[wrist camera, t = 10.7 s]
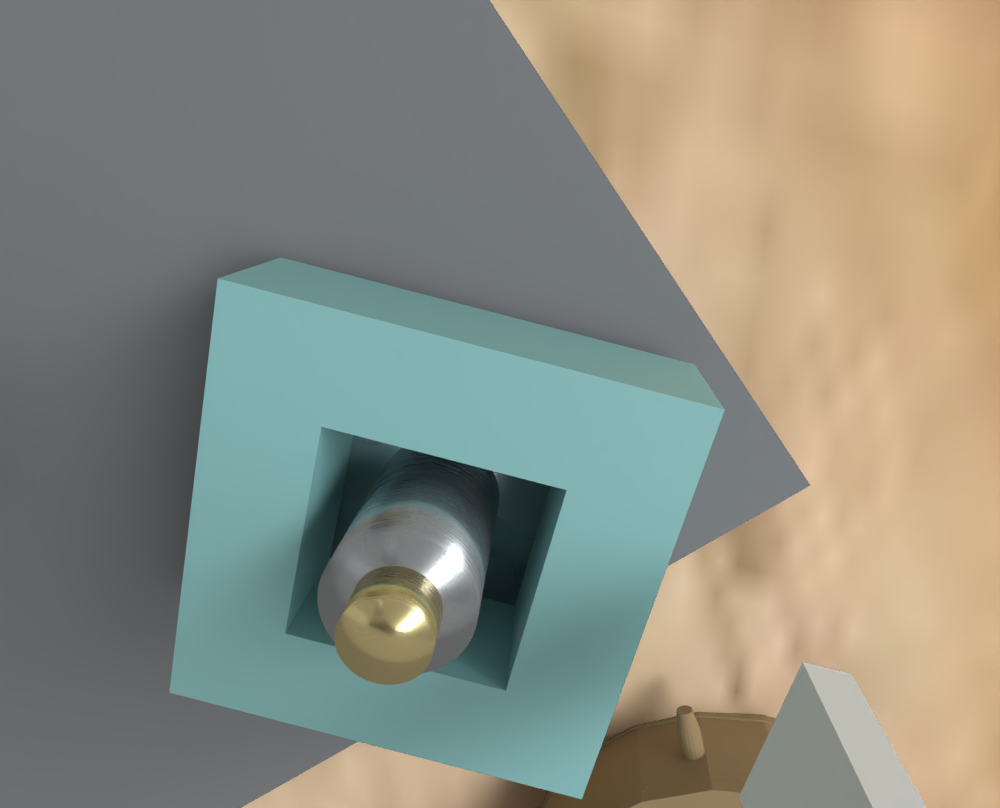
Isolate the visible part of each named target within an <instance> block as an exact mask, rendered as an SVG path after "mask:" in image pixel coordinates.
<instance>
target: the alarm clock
mask: <svg viewBox="0 0 1000 808" xmlns="http://www.w3.org/2000/svg"><path fill="white" fill-rule="evenodd" d="M775 720H776V719H775V718H772V717H769V716H765V715H756V714H732V713H708V712H696V713H694V712H693V710H692V708H691V707H690V706H681V707H679V708H678V709H677V717H673V718H668V719H664V720H659V721H654V722H650V723H645V724H641V725H636V726H634V727H632V728H630V729H629V730H627V731H625V732H623V733H621V734H619V735H617V736H615V737H613V738H612V739H610V740H608V741H606V742H604V743H602V746H601V748H600V751H599V754H598V756H597V759H596V762H595V765H594V767H593V770H592V773H591V776H590V778H589V781H588V784H587V786H586V789H585V792H584V795H583V797H582V799H578V798H575V797H571V796H567V795H563V794H559V793H555V792H551V791H548V793H547V796H546V798H545V801H544V803H543V805H542V808H743V806H742V803H741V799H740V796H739V795H740V793H741V791H742V789H743V787H744V785H745V783H746V781H747V778H748V776H749V774H750V772H751V770H752V768H753V766H754V764H755V762H756V760H757V757H758V755H759V753H760V751H761V749H762V747H763V745H764V743H765V741H766V738H767V736H768V734H769V732H770V730H771V728H772V726H773V724H774V722H775Z"/></svg>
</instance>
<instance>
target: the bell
mask: <svg viewBox="0 0 1000 808" xmlns="http://www.w3.org/2000/svg"><path fill="white" fill-rule="evenodd" d="M549 489H550V486H549V485H545V484H541V483H537V482H533V481H529V480H526V479H522V478H518V477H514V476H510V475H506V474H502V473H498V472H495V471H491V470H487V469H483V468H479V467H475V466H471V465H468V464H464V463H460V462H456V461H452V460H448V459H444V458H441V457H437V456H433V455H429V454H425V453H421V452H417V451H413V450H410V449H406V448H402V447H398V446H394V445H390V444H386V443H383V442H379V441H375V440H371V439H367V438H363V437H359V436H356V435H353V439H352V445H351V450H350V455H349V460H348V466H347V471H346V476H345V481H344V487H343V492H342V497H341V502H340V507H339V513H338V518H337V523H336V528H335V534H334V539H333V544H332V549H331V554H330V558H331V559H330V561H329V562H328V564H327V566H326V568H325V570H324V572H323V574H322V576H321V579H320V582H319V586H318V595H317V602H318V609H319V614H320V617H321V620H322V623H323V625H324V627H325V629H326V631H327V632H328V634H329V636H330V637H331V639H332V640H333V641H334V642H335V647H336V650H337V653H338V655H339V657H340V658H341V660H342V662H343V663H344V664H345V665H346V666H347V667H348V668H349V669H350V670H351V671H352V672H353V673H354V674H356V675H357V676H359V677H361V678H363V679H365V680H367V681H370V682H373V683H377V684H383V685H396V684H401V683H405V682H408V681H410V680H413V679H415V678H416V677H418V676H419V675H420V674H422V673H426V672H430V671H433V670H436V669H439V668H441V667H443V666H445V665H447V664H448V663H450V662H451V661H453V660H454V659H455V658H456V657H457V656H459V655H460V654H461V653H462V652H463V650H464V649H465V648H466V647H467V645H468V644H469V642H470V640H471V639H472V637H473V634H474V632H475V629H476V625H477V621H478V615H479V610H480V605H481V599H482V597H483V598H487V599H491V600H495V601H498V602H502V603H506V604H510V605H514V606H515V604H516V601H517V597H518V594H519V591H520V587H521V584H522V580H523V577H524V574H525V570H526V567H527V563H528V560H529V557H530V553H531V550H532V546H533V543H534V540H535V536H536V533H537V529H538V526H539V523H540V519H541V516H542V512H543V509H544V506H545V502H546V499H547V495H548V492H549Z"/></svg>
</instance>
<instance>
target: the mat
mask: <svg viewBox="0 0 1000 808" xmlns="http://www.w3.org/2000/svg"><path fill="white" fill-rule="evenodd" d="M278 258H285V259H289V260H293V261H297V262H301V263H305V264H308V265H312V266H316V267H320V268H324V269H328V270H332V271H336V272H339V273H343V274H347V275H351V276H355V277H359V278H363V279H366V280H370V281H374V282H378V283H382V284H386V285H390V286H394V287H397V288H401V289H405V290H409V291H413V292H417V293H421V294H424V295H428V296H432V297H436V298H440V299H444V300H448V301H451V302H455V303H459V304H463V305H467V306H471V307H475V308H479V309H482V310H486V311H490V312H494V313H498V314H502V315H506V316H509V317H513V318H517V319H521V320H525V321H529V322H533V323H536V324H540V325H544V326H548V327H552V328H556V329H560V330H564V331H567V332H571V333H575V334H579V335H583V336H587V337H591V338H594V339H598V340H602V341H606V342H610V343H614V344H618V345H622V346H625V347H629V348H633V349H637V350H641V351H645V352H649V353H652V354H656V355H660V356H664V357H668V358H672V359H676V360H679V361H683V362H687V363H691V364H695V366H696V367H697V369H698V370H699V372H700V373H701V375H702V376H703V378H704V379H705V381H706V382H707V384H708V385H709V387H710V388H711V390H712V391H713V393H714V394H715V396H716V397H717V399H718V400H719V402H720V403H721V405H722V406H723V408H724V409H725V410H724V413H723V416H722V419H721V421H720V424H719V427H718V430H717V432H716V435H715V438H714V440H713V443H712V446H711V449H710V451H709V454H708V457H707V460H706V462H705V465H704V468H703V470H702V473H701V476H700V479H699V481H698V484H697V487H696V489H695V492H694V495H693V498H692V500H691V503H690V506H689V509H688V511H687V514H686V517H685V519H684V522H683V525H682V528H681V530H680V533H679V536H678V539H677V541H676V544H675V547H674V549H673V552H672V555H671V558H670V560H669V563H668V566H669V565H670V564H672V563H674V562H676V561H677V560H679V559H681V558H683V557H685V556H686V555H688V554H690V553H692V552H693V551H695V550H697V549H699V548H700V547H702V546H704V545H706V544H707V543H709V542H711V541H713V540H715V539H716V538H718V537H720V536H722V535H723V534H725V533H727V532H729V531H730V530H732V529H734V528H736V527H738V526H739V525H741V524H743V523H745V522H746V521H748V520H750V519H752V518H753V517H755V516H757V515H759V514H761V513H762V512H764V511H766V510H768V509H769V508H771V507H773V506H775V505H776V504H778V503H780V502H782V501H783V500H785V499H787V498H789V497H791V496H792V495H794V494H796V493H798V492H799V491H801V490H803V489H805V488H806V487H808V486H810V484H809V483H808V481H807V480H806V478H805V477H804V475H803V474H802V472H801V471H800V469H799V468H798V466H797V465H796V463H795V462H794V460H793V458H792V457H791V455H790V454H789V452H788V451H787V449H786V448H785V446H784V445H783V443H782V442H781V440H780V439H779V437H778V436H777V434H776V433H775V431H774V430H773V428H772V427H771V425H770V424H769V422H768V421H767V419H766V418H765V416H764V415H763V413H762V412H761V410H760V409H759V407H758V406H757V404H756V403H755V401H754V400H753V398H752V396H751V395H750V393H749V392H748V390H747V389H746V387H745V386H744V384H743V383H742V381H741V380H740V378H739V377H738V375H737V374H736V372H735V371H734V369H733V368H732V366H731V365H730V363H729V362H728V360H727V359H726V357H725V356H724V354H723V353H722V351H721V350H720V348H719V347H718V345H717V344H716V342H715V341H714V339H713V338H712V336H711V334H710V333H709V331H708V330H707V328H706V327H705V325H704V324H703V322H702V321H701V319H700V318H699V316H698V315H697V313H696V312H695V310H694V309H693V307H692V306H691V304H690V303H689V301H688V300H687V298H686V297H685V295H684V294H683V292H682V291H681V289H680V288H679V286H678V285H677V283H676V282H675V280H674V279H673V277H672V276H671V274H670V273H669V271H668V269H667V268H666V266H665V265H664V263H663V262H662V260H661V259H660V257H659V256H658V254H657V253H656V251H655V250H654V248H653V247H652V245H651V244H650V242H649V241H648V239H647V238H646V236H645V235H644V233H643V232H642V230H641V229H640V227H639V226H638V224H637V223H636V221H635V220H634V218H633V217H632V215H631V214H630V212H629V211H628V209H627V207H626V206H625V204H624V203H623V201H622V200H621V198H620V197H619V195H618V194H617V192H616V191H615V189H614V188H613V186H612V185H611V183H610V182H609V180H608V179H607V177H606V176H605V174H604V173H603V171H602V170H601V168H600V167H599V165H598V164H597V162H596V161H595V159H594V158H593V156H592V155H591V153H590V152H589V150H588V149H587V147H586V145H585V144H584V142H583V141H582V139H581V138H580V136H579V135H578V133H577V132H576V130H575V129H574V127H573V126H572V124H571V123H570V121H569V120H568V118H567V117H566V115H565V114H564V112H563V111H562V109H561V108H560V106H559V105H558V103H557V102H556V100H555V99H554V97H553V96H552V94H551V93H550V91H549V90H548V88H547V87H546V85H545V83H544V82H543V80H542V79H541V77H540V76H539V74H538V73H537V71H536V70H535V68H534V67H533V65H532V64H531V62H530V61H529V59H528V58H527V56H526V55H525V53H524V52H523V50H522V49H521V47H520V46H519V44H518V43H517V41H516V40H515V38H514V37H513V35H512V34H511V32H510V31H509V29H508V28H507V26H506V25H505V23H504V22H503V20H502V18H501V17H500V15H499V14H498V12H497V11H496V9H495V8H494V6H493V5H492V3H491V2H490V0H0V808H241V807H243V806H245V805H246V804H248V803H250V802H252V801H253V800H255V799H257V798H259V797H260V796H262V795H264V794H266V793H268V792H269V791H271V790H273V789H275V788H276V787H278V786H280V785H282V784H283V783H285V782H287V781H289V780H290V779H292V778H294V777H296V776H298V775H299V774H301V773H303V772H305V771H306V770H308V769H310V768H312V767H313V766H315V765H317V764H319V763H321V762H322V761H324V760H326V759H328V758H329V757H331V756H333V755H335V754H336V753H338V752H340V751H342V750H344V749H345V748H347V747H349V746H351V745H352V744H354V743H356V742H358V741H355V740H351V739H347V738H343V737H339V736H335V735H331V734H327V733H324V732H320V731H316V730H312V729H308V728H304V727H300V726H297V725H293V724H289V723H285V722H281V721H277V720H273V719H270V718H266V717H262V716H258V715H254V714H250V713H246V712H243V711H239V710H235V709H231V708H227V707H223V706H219V705H216V704H212V703H208V702H204V701H200V700H196V699H192V698H189V697H185V696H181V695H177V694H173V693H169V691H170V683H171V674H172V666H173V657H174V648H175V640H176V631H177V623H178V614H179V606H180V597H181V588H182V580H183V571H184V563H185V554H186V546H187V537H188V529H189V520H190V511H191V503H192V494H193V486H194V477H195V469H196V460H197V451H198V443H199V434H200V426H201V417H202V409H203V400H204V391H205V383H206V374H207V366H208V357H209V349H210V340H211V332H212V323H213V314H214V306H215V297H216V289H217V280H218V278H220V277H223V276H227V275H230V274H233V273H236V272H239V271H242V270H245V269H248V268H251V267H254V266H257V265H260V264H263V263H266V262H269V261H272V260H275V259H278Z"/></svg>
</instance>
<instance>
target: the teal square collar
mask: <svg viewBox="0 0 1000 808" xmlns="http://www.w3.org/2000/svg"><path fill="white" fill-rule="evenodd" d="M724 410H725V409H724V408H723V406H722V405H721V403H720V402H719V400H718V399H717V397H716V396H715V394H714V393H713V391H712V390H711V388H710V387H709V385H708V384H707V382H706V381H705V379H704V378H703V376H702V375H701V373H700V372H699V370H698V369H697V367H696V366H695V364H691V363H687V362H683V361H679V360H676V359H672V358H668V357H664V356H660V355H656V354H652V353H649V352H645V351H641V350H637V349H633V348H629V347H625V346H622V345H618V344H614V343H610V342H606V341H602V340H598V339H594V338H591V337H587V336H583V335H579V334H575V333H571V332H567V331H564V330H560V329H556V328H552V327H548V326H544V325H540V324H536V323H533V322H529V321H525V320H521V319H517V318H513V317H509V316H506V315H502V314H498V313H494V312H490V311H486V310H482V309H479V308H475V307H471V306H467V305H463V304H459V303H455V302H451V301H448V300H444V299H440V298H436V297H432V296H428V295H424V294H421V293H417V292H413V291H409V290H405V289H401V288H397V287H394V286H390V285H386V284H382V283H378V282H374V281H370V280H366V279H363V278H359V277H355V276H351V275H347V274H343V273H339V272H336V271H332V270H328V269H324V268H320V267H316V266H312V265H308V264H305V263H301V262H297V261H293V260H289V259H285V258H278V259H275V260H272V261H269V262H266V263H263V264H260V265H257V266H254V267H251V268H248V269H245V270H242V271H239V272H236V273H233V274H230V275H227V276H223V277H220V278H218V280H217V289H216V297H215V306H214V314H213V323H212V332H211V340H210V349H209V357H208V366H207V374H206V383H205V391H204V400H203V409H202V417H201V426H200V434H199V443H198V451H197V460H196V469H195V477H194V486H193V494H192V503H191V511H190V520H189V529H188V537H187V546H186V554H185V563H184V571H183V580H182V588H181V597H180V606H179V614H178V623H177V631H176V640H175V648H174V657H173V666H172V674H171V683H170V691H169V693H173V694H177V695H181V696H185V697H189V698H192V699H196V700H200V701H204V702H208V703H212V704H216V705H219V706H223V707H227V708H231V709H235V710H239V711H243V712H246V713H250V714H254V715H258V716H262V717H266V718H270V719H273V720H277V721H281V722H285V723H289V724H293V725H297V726H300V727H304V728H308V729H312V730H316V731H320V732H324V733H327V734H331V735H335V736H339V737H343V738H347V739H351V740H355V741H358V742H362V743H366V744H370V745H374V746H378V747H382V748H385V749H389V750H393V751H397V752H401V753H405V754H409V755H412V756H416V757H420V758H424V759H428V760H432V761H436V762H439V763H443V764H447V765H451V766H455V767H459V768H463V769H466V770H470V771H474V772H478V773H482V774H486V775H490V776H493V777H497V778H501V779H505V780H509V781H513V782H517V783H521V784H524V785H528V786H532V787H536V788H540V789H544V790H548V791H551V792H555V793H559V794H563V795H567V796H571V797H575V798H578V799H582V797H583V795H584V792H585V789H586V786H587V784H588V781H589V778H590V776H591V773H592V770H593V767H594V765H595V762H596V759H597V756H598V754H599V751H600V748H601V746H602V743H603V740H604V737H605V735H606V732H607V729H608V727H609V724H610V721H611V718H612V716H613V713H614V710H615V707H616V705H617V702H618V699H619V697H620V694H621V691H622V688H623V686H624V683H625V680H626V677H627V675H628V672H629V669H630V667H631V664H632V661H633V658H634V656H635V653H636V650H637V648H638V645H639V642H640V639H641V637H642V634H643V631H644V628H645V626H646V623H647V620H648V618H649V615H650V612H651V609H652V607H653V604H654V601H655V598H656V596H657V593H658V590H659V588H660V585H661V582H662V579H663V577H664V574H665V571H666V568H667V566H668V563H669V560H670V558H671V555H672V552H673V549H674V547H675V544H676V541H677V539H678V536H679V533H680V530H681V528H682V525H683V522H684V519H685V517H686V514H687V511H688V509H689V506H690V503H691V500H692V498H693V495H694V492H695V489H696V487H697V484H698V481H699V479H700V476H701V473H702V470H703V468H704V465H705V462H706V460H707V457H708V454H709V451H710V449H711V446H712V443H713V440H714V438H715V435H716V432H717V430H718V427H719V424H720V421H721V419H722V416H723V413H724ZM353 435H356V436H359V437H363V438H367V439H371V440H375V441H379V442H383V443H386V444H390V445H394V446H398V447H402V448H406V449H410V450H413V451H417V452H421V453H425V454H429V455H433V456H437V457H441V458H444V459H448V460H452V461H456V462H460V463H464V464H468V465H471V466H475V467H479V468H483V469H487V470H491V471H495V472H498V473H502V474H506V475H510V476H514V477H518V478H522V479H526V480H529V481H533V482H537V483H541V484H545V485H549V486H550V489H549V492H548V495H547V499H546V502H545V506H544V509H543V512H542V516H541V519H540V523H539V526H538V529H537V533H536V536H535V540H534V543H533V546H532V550H531V553H530V557H529V560H528V563H527V567H526V570H525V574H524V577H523V580H522V584H521V587H520V591H519V594H518V597H517V601H516V604H515V606H514V605H510V604H506V603H502V602H498V601H495V600H491V599H487V598H483V597H482V599H481V605H480V610H479V615H478V621H477V625H476V629H475V632H474V634H473V637H472V639H471V640H470V642H469V644H468V645H467V647H466V648H465V649H464V650H463V652H462V653H461V654H460V655H459V656H457V657H456V658H455V659H454V660H453V661H451V662H450V663H448V664H447V665H445V666H443V667H441V668H439V669H436V670H433V671H430V672H426V673H422V674H420V675H419V676H418V677H416V678H415V679H413V680H410V681H408V682H405V683H401V684H396V685H383V684H377V683H373V682H370V681H367V680H365V679H363V678H361V677H359V676H357V675H356V674H354V673H353V672H352V671H351V670H350V669H349V668H348V667H347V666H346V665H345V664H344V663H343V662H342V660H341V658H340V657H339V655H338V653H337V650H336V647H335V642H334V641H333V640H332V639H331V637H330V636H329V634H328V632H327V631H326V629H325V627H324V625H323V623H322V620H321V617H320V614H319V609H318V602H317V595H318V586H319V582H320V579H321V576H322V574H323V572H324V570H325V568H326V566H327V564H328V562H329V561H330V559H331V558H330V554H331V549H332V544H333V539H334V534H335V528H336V523H337V518H338V513H339V507H340V502H341V497H342V492H343V487H344V481H345V476H346V471H347V466H348V460H349V455H350V450H351V445H352V439H353Z"/></svg>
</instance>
